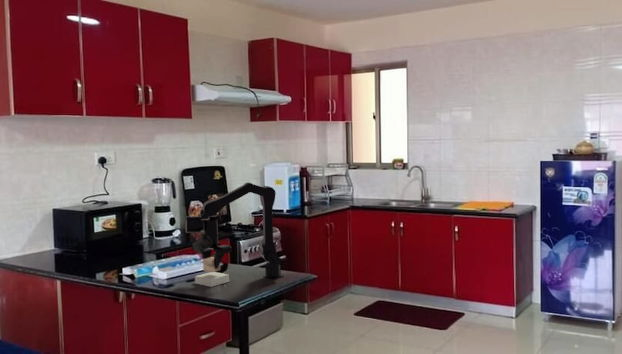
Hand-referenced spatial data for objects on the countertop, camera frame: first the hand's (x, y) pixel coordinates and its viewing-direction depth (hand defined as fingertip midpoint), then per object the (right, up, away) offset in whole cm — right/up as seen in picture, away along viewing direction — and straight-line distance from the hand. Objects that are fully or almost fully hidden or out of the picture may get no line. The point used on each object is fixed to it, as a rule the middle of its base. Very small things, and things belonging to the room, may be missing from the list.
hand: (212, 267), depth 243 cm
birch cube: (0, -1, 0) cm, 1 cm away
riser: (0, -6, 0) cm, 6 cm away
